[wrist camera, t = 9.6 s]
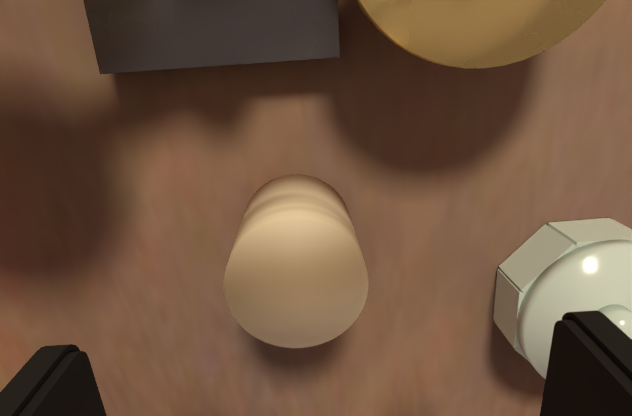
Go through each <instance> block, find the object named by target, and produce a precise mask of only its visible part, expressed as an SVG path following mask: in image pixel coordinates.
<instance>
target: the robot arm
mask: <svg viewBox="0 0 632 416" xmlns="http://www.w3.org/2000/svg"><path fill="white" fill-rule="evenodd" d="M0 416H106V413H105V409H104V406H103V403H102V400H101V397H100V393H99V390H98V387H97V384H96V381H95V377H94V374H93V371H92V368H91V365H90V361H89V358H88V356H87V354H86V353H85V352H83V351H80V350H79V348H78V347H77V346H76V345H72V344H71V345H56V346H44V347H41V348H40V349H39V350H38V351H37V352H36V353H35V354H34V355H33V356H32V357H31V358H30V360H29V361H28V362H27V363H26V364H25V365H24V366H23V367H22V369H21V370H20V371H19V372H18V373H17V374H16V375H15V377H14V378H13V379H12V380H11V381H10V382H9V383H8V384H7V386H6V387H5V388H4V389H3V390H2V391H1V392H0ZM540 416H632V339H631V338H629V337H628V336H627V335H626V334H625V333H624V332H623V331H622V330H621V329H620V328H618V327H617V326H616V325H615V324H614V323H613V322H612V321H611V320H610V319H609V318H608V317H606V316H605V315H604V314H603V313H601V312H600V311H596V310H594V311H579V312H567V313H565V314H564V315H563V317H562V320H559V321H557V322H556V323H555V325H554V330H553V336H552V343H551V349H550V355H549V362H548V368H547V374H546V381H545V387H544V393H543V400H542V406H541V412H540Z"/></svg>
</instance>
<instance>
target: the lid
mask: <svg viewBox="0 0 632 416" xmlns="http://www.w3.org/2000/svg"><path fill="white" fill-rule="evenodd" d="M499 267H500V269H497V279H496V291H495V303H494V315H493V320H494V322H495V323H496V325H497V326H498V328H499V329H500V330H501V332H502V333H503V334H504V336H505V337H506V338H507V340H508V341H509V343H510V344H511V345H512V347H513V348H514V349H515V350H516V351H517V352H518V353H519V354H521V355H522V356H523V357H524V358H525V359H527V360H528V361H529V362H530V363H531V364H532V366H533V367H534V368H535V370H536V371H537V372H538V373H539V374H540V375H541V376H542V377H543V378H545V379H546V374H547V368H548V362H549V355H550V349H551V343H552V336H553V330H554V325H555V323H556V322H557V321H559V320H562V317H563V315H564V314H565V313H567V312H579V311H594V310H596V311H600V312H601V313H603V314H604V315H605V316H606V317H608V318H609V319H610V320H611V321H612V322H613V323H614V324H615V325H616V326H617V327H618V328H620V329H621V330H622V331H623V332H624V333H625V334H626V335H627V336H628V337H629V338H631V339H632V229H630V228H628V227H626V226H624V225H622V224H620V223H618V222H617V221H615V220H613V219H610V218H601V219H588V220H576V221H563V222H551V223H548V226H547V225H546V224H545V225H543V226H542V227H541V228H540V229H539V230H538V231H537V232H536V233H535V234H534V235H532V236H531V237H530V238H529V239H528V240H527V241H526V242H525V243H524V244H523V245H521V246H520V247H519V248H518V249H517V250H516V251H515V252H514V253H513V254H512V255H510V256H509V257H508V258H507V259H506V260H505V261H504V262H503V263H502V264H501V265H500V266H499Z"/></svg>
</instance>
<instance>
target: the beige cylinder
mask: <svg viewBox="0 0 632 416" xmlns="http://www.w3.org/2000/svg"><path fill="white" fill-rule="evenodd" d="M368 283H369V282H368V273H367V269H366V266H365V263H364V259H363V256H362V253H361V250H360V247H359V244H358V241H357V238H356V234H355V231H354V228H353V225H352V222H351V219H350V216H349V213H348V209H347V207H346V205H345V203H344V201H343V199H342V197H341V196H340V195H339V194H338V192H337V191H336V190H335V189H334V188H332V187H331V186H330V185H328V184H327V183H325V182H323V181H322V180H320V179H317V178H314V177H311V176H306V175H287V176H282V177H279V178H276V179H274V180H271V181H270V182H268V183H266V184H265V185H263V186H262V187H261V188H260V189H259V190H258V191H257V192H256V193H255V194H254V195H253V196H252V198H251V199H250V201H249V203H248V205H247V207H246V210H245V213H244V216H243V219H242V222H241V225H240V228H239V231H238V234H237V237H236V240H235V243H234V246H233V249H232V252H231V255H230V258H229V261H228V264H227V267H226V270H225V275H224V295H225V299H226V303H227V305H228V308H229V310H230V312H231V314H232V315H233V317H234V318H235V320H236V321H237V322H238V324H239V325H240V326H241V327H242V328H243V329H244V330H246V331H247V332H248V333H249V334H251V335H252V336H254V337H256V338H257V339H259V340H261V341H263V342H266V343H268V344H272V345H275V346H279V347H285V348H305V347H312V346H316V345H320V344H322V343H325V342H328V341H330V340H332V339H334V338H336V337H337V336H339V335H340V334H342V333H343V332H344V331H346V330H347V329H348V328H349V327H350V326H351V325H352V324H353V323H354V322H355V320H356V319H357V318H358V316H359V315H360V313H361V311H362V309H363V307H364V305H365V302H366V299H367V294H368Z"/></svg>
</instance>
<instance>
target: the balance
mask: <svg viewBox="0 0 632 416" xmlns="http://www.w3.org/2000/svg"><path fill="white" fill-rule="evenodd" d="M355 1H356V2H357V4H358V5H359V7H360V8H361V10H362V11H363V13H364V14H365V16H366V17H367V18H368V19H369V20H370V22H371V23H372V24H373V25H374V26H375V27H376V29H377V30H378V31H379V32H381V33H382V34H383V35H384V36H385V37H386V38H387V39H389V40H390V41H391V42H392V43H393V44H395V45H397V46H398V47H400V48H401V49H403V50H404V51H406V52H407V53H410V54H412V55H414V56H416V57H418V58H420V59H423V60H425V61H429V62H432V63H436V64H439V65H444V66H451V67H458V68H490V67H497V66H504V65H508V64H511V63H515V62H519V61H522V60H525V59H527V58H530V57H532V56H534V55H537V54H539V53H541V52H543V51H545V50H547V49H549V48H550V47H552V46H554V45H556V44H557V43H559V42H560V41H562V40H563V39H565V38H566V37H567V36H569V35H570V34H571V33H573V32H574V31H576V30H577V29H578V28H579V27H580V26H581V25H582V24H583V23H585V22H586V21H587V20H588V19H589V18H590V17H591V16H592V15H593V14H594V13H595V12H596V11H597V10H598V9H599V7H600V6H601V5H602V4H603V3H604V2H605V1H606V0H355ZM84 5H85V9H86V13H87V18H88V22H89V27H90V31H91V36H92V40H93V44H94V49H95V53H96V58H97V62H98V66H99V71H100V74H109V73H124V72H138V71H152V70H166V69H181V68H195V67H209V66H223V65H238V64H252V63H266V62H281V61H295V60H309V59H323V58H338V57H340V45H339V23H338V0H84Z"/></svg>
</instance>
